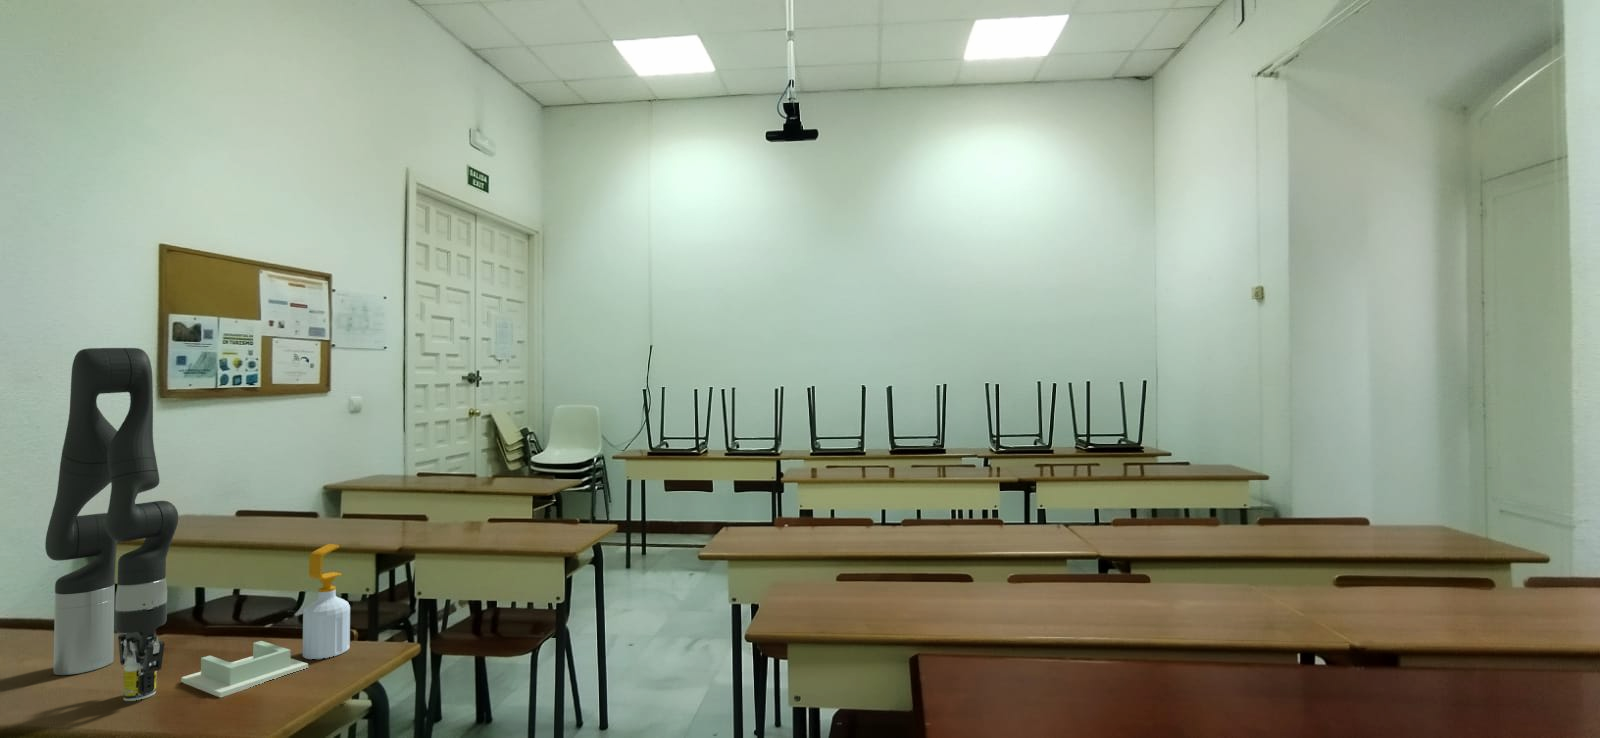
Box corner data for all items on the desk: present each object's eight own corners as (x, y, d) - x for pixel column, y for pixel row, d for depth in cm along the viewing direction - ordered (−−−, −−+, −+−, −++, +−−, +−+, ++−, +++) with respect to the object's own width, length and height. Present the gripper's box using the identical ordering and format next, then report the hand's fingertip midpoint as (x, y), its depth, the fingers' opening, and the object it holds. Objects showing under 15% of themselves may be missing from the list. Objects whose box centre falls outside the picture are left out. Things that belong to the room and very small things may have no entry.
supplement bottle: (135, 703, 136) (136, 659, 136) (116, 700, 137) (117, 657, 137) (162, 692, 140) (163, 650, 141) (144, 690, 141) (144, 648, 142)
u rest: (181, 682, 145) (181, 660, 145) (268, 655, 159) (269, 635, 160) (220, 697, 138) (220, 674, 138) (308, 668, 152) (308, 647, 152)
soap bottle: (358, 648, 163) (359, 543, 164) (317, 663, 155) (319, 551, 156) (334, 643, 167) (335, 540, 168) (293, 656, 159) (294, 548, 159)
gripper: (100, 603, 139) (99, 690, 139) (133, 614, 132) (131, 705, 132) (149, 593, 146) (147, 676, 145) (182, 603, 139) (181, 689, 139)
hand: (140, 689), depth 139 cm, fingers closed on supplement bottle, 4 cm apart
